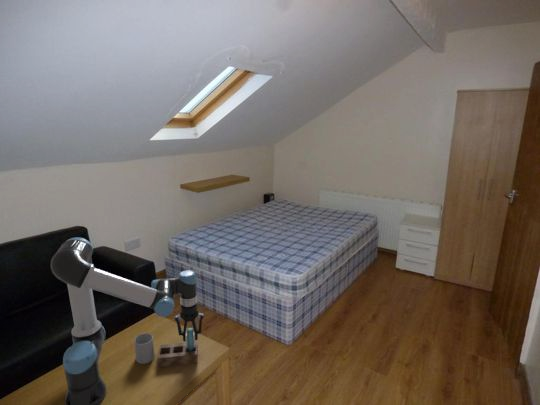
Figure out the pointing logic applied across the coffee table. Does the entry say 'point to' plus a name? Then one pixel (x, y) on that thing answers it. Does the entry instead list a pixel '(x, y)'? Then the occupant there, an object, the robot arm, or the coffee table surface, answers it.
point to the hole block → (176, 355)
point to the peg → (190, 339)
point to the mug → (144, 348)
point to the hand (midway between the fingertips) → (190, 345)
